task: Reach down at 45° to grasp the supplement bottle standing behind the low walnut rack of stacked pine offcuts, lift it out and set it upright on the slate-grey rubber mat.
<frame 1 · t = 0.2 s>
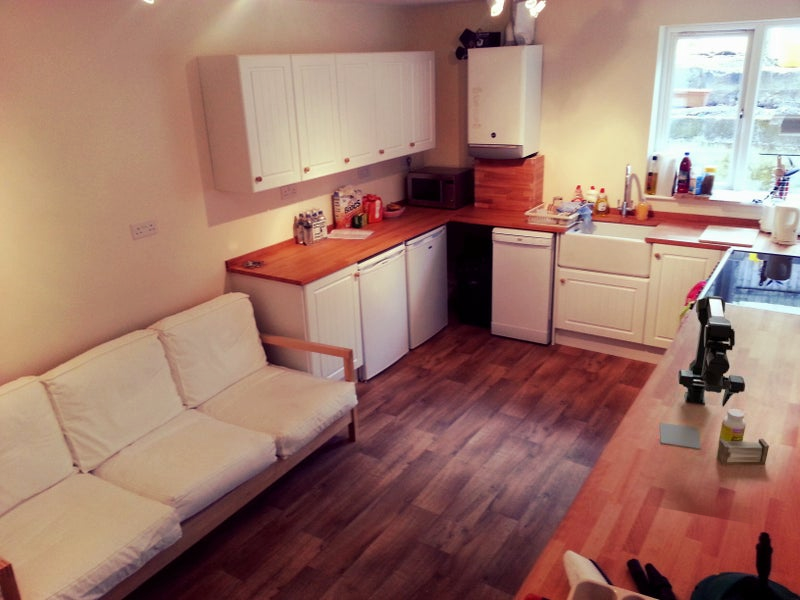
hand: (707, 403, 209), 15 cm above the worktop, tool pointing down, fingers open, 9 cm apart
offcut rack: (740, 461, 205), on the worktop
supplement bottle: (729, 446, 212), on the worktop
slate mat: (679, 436, 218), on the worktop
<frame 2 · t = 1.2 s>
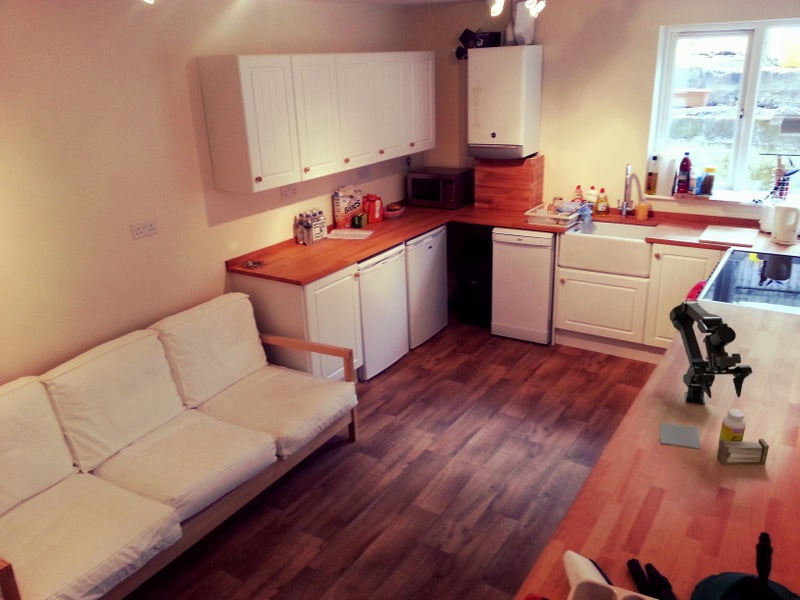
hand: (724, 397, 215), 13 cm above the worktop, tool tilted 45°, fingers open, 9 cm apart
nothing on the worktop moved.
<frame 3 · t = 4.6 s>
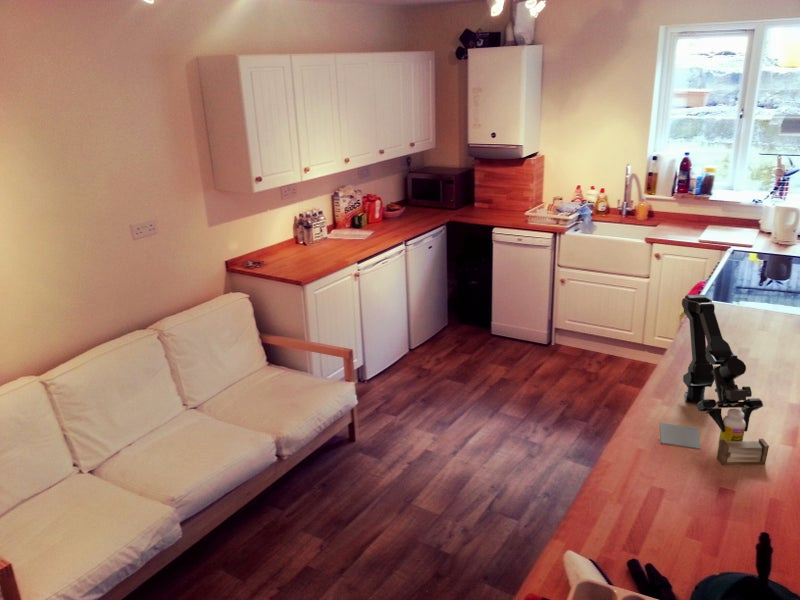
hand: (734, 431, 208), 7 cm above the worktop, tool tilted 45°, fingers closed on supplement bottle, 7 cm apart
supplement bottle: (729, 446, 212), on the worktop, touching gripper
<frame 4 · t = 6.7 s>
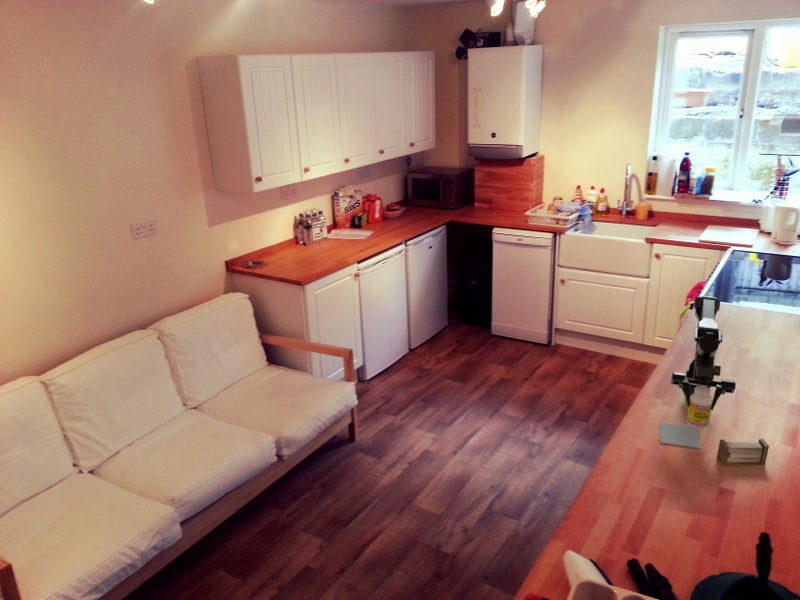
hand: (699, 408, 210), 13 cm above the worktop, tool tilted 45°, fingers closed on supplement bottle, 7 cm apart
supplement bottle: (697, 424, 213), point 6 cm above the worktop, touching gripper
when the fingers open (8 cm above the worktop, at t = 8.8 s): supplement bottle drops 1 cm, resting on slate mat.
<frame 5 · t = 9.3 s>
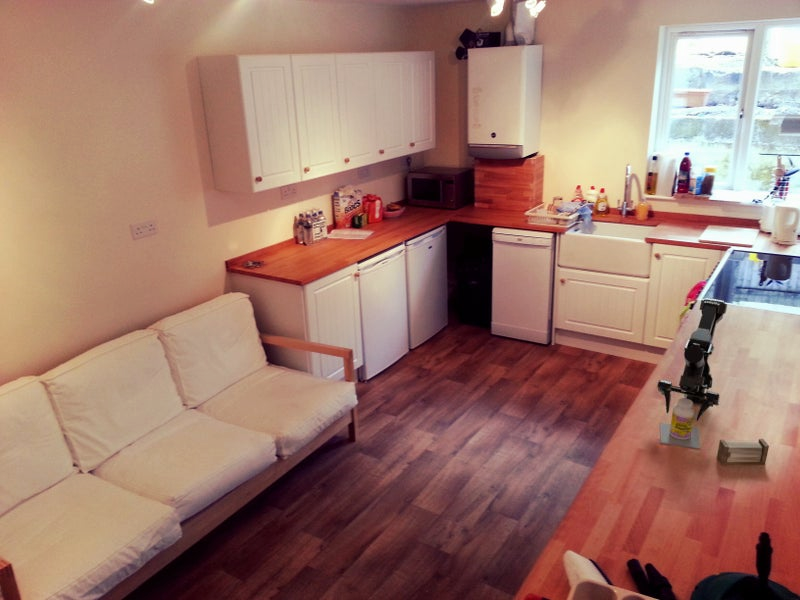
hand: (681, 416, 214), 8 cm above the worktop, tool tilted 45°, fingers open, 9 cm apart
supplement bottle: (680, 435, 218), resting on slate mat
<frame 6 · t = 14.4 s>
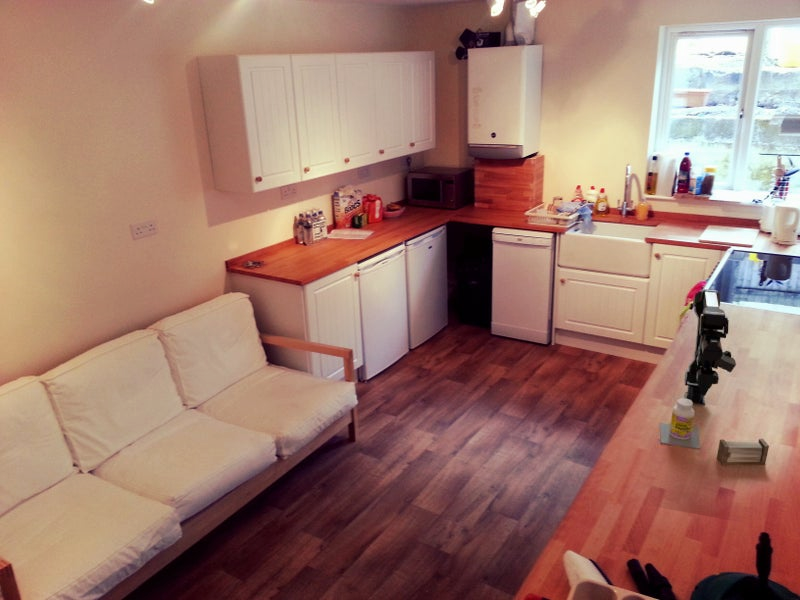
hand: (702, 388, 221), 13 cm above the worktop, tool pointing down, fingers open, 9 cm apart
nothing on the worktop moved.
at the end: supplement bottle inside the target area on the slate mat (0.1 cm from its centre), point 0.2 cm above the slate mat's base; supplement bottle tilted 0°; the gripper is holding nothing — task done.
